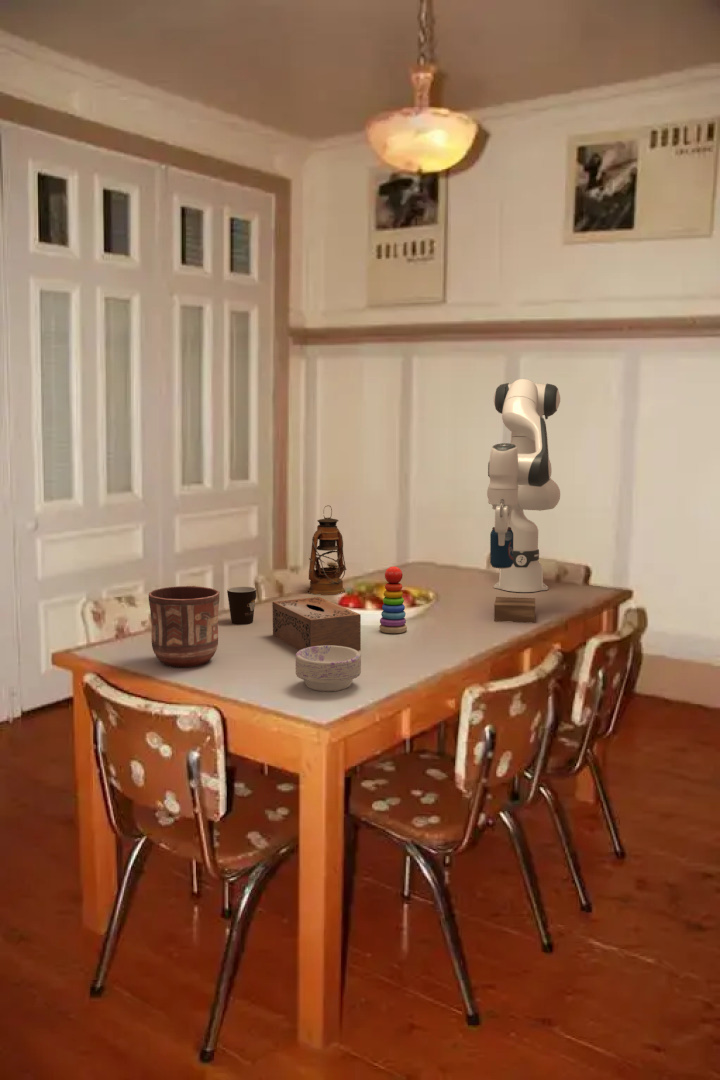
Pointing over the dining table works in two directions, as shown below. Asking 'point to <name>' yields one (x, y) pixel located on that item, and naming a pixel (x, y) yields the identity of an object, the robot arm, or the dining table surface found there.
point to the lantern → (328, 537)
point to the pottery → (184, 625)
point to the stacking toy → (393, 603)
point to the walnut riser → (514, 609)
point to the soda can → (501, 550)
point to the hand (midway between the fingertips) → (502, 543)
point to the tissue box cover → (316, 623)
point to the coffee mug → (241, 604)
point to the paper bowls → (328, 667)
